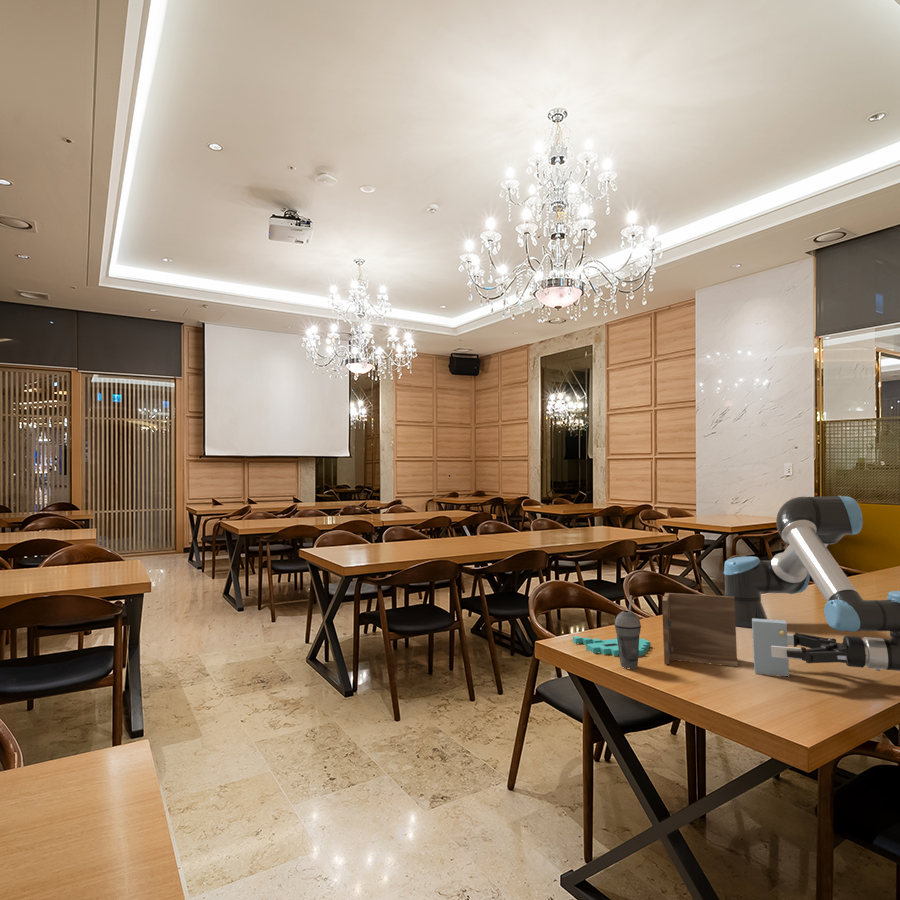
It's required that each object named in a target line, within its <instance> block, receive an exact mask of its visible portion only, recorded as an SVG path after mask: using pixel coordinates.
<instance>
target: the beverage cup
mask: <svg viewBox="0 0 900 900" xmlns="http://www.w3.org/2000/svg"><path fill="white" fill-rule="evenodd" d="M632 599H633V595H629V605H628V610H622V611H620V612H619V613H618V614H617V615H616V617H615V620H614V628H615V632H616V637H617V640H618V648H619V656H618V657H619V662H620V667H621V666H622V667H624V668H630V669H629V670H635V669H634V668H637V669H638V663H639V656H638V653H639V639H640V634H641V629H642V625H641V620H640V619H639V616H638V615H637V614H636V613H635V612H633V611H632ZM622 667H621V668H622ZM624 668H623V669H624Z"/></svg>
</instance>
